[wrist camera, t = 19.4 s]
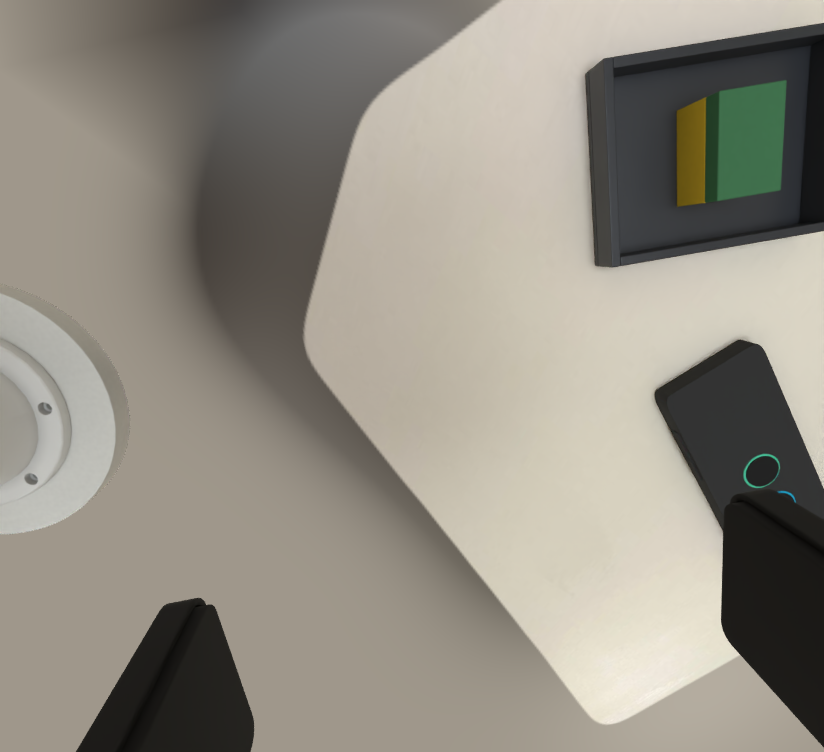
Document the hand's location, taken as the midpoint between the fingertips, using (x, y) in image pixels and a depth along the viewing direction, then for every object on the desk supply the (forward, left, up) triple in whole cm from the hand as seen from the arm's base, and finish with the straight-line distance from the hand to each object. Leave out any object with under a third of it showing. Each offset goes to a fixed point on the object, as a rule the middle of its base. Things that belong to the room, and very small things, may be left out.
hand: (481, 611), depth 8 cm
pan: (+22, +9, -26) cm, 35 cm away
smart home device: (+26, -15, -26) cm, 40 cm away
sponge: (+22, +9, -26) cm, 35 cm away
